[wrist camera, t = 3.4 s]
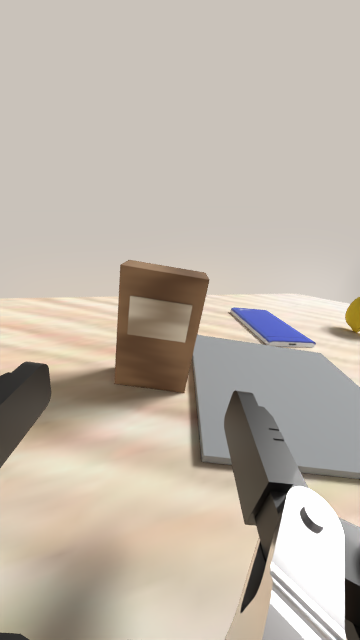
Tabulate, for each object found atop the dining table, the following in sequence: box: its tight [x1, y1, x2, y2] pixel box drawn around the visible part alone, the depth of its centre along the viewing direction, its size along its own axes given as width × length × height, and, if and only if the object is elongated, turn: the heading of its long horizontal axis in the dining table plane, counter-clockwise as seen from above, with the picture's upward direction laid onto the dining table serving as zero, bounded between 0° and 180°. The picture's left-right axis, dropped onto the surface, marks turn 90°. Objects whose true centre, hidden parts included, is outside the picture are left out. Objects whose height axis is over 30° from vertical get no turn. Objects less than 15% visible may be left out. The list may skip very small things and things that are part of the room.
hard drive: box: [230, 308, 316, 347], centre depth 36 cm, size 2×8×12 cm
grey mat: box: [192, 335, 360, 479], centre depth 21 cm, size 18×16×1 cm
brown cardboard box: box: [114, 260, 209, 393], centre depth 17 cm, size 6×3×10 cm, turn 90°
